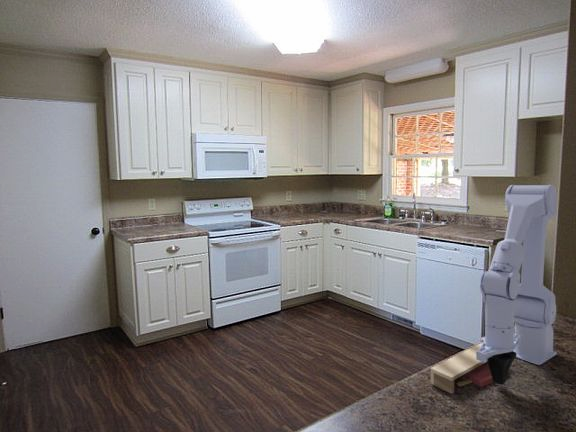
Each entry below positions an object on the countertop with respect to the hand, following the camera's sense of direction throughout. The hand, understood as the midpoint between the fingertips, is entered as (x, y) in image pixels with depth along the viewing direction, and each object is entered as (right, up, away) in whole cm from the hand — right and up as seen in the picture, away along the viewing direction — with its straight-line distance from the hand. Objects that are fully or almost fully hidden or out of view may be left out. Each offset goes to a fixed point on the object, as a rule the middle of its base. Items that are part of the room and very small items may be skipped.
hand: (498, 382), depth 92 cm
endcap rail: (-4, -1, +6) cm, 8 cm away
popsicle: (-2, -1, +4) cm, 5 cm away
